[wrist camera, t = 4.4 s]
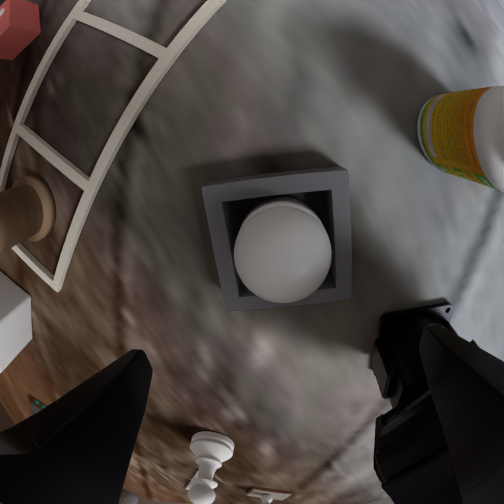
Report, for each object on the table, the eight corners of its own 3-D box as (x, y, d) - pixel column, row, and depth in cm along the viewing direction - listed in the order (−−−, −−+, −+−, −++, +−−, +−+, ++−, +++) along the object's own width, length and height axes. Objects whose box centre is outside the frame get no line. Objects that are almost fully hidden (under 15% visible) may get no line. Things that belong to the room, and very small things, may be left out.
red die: (38, 4, 12) (9, -4, 8) (40, 33, 13) (8, 25, 9) (11, 31, 13) (-18, 26, 9) (13, 60, 14) (-19, 57, 10)
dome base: (340, 166, 16) (347, 169, 14) (345, 284, 19) (351, 300, 17) (209, 181, 17) (200, 187, 16) (230, 295, 20) (226, 311, 18)
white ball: (320, 192, 17) (337, 214, 12) (326, 271, 19) (339, 317, 14) (234, 201, 17) (216, 227, 13) (247, 279, 19) (236, 326, 14)
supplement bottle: (418, 174, 16) (520, 217, 7) (409, 92, 14) (510, 71, 5) (478, 172, 15) (577, 209, 6) (470, 97, 13) (572, 95, 4)
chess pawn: (184, 431, 28) (165, 495, 20) (222, 428, 27) (208, 498, 19) (205, 451, 30) (192, 510, 21) (241, 448, 29) (232, 512, 20)
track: (160, -79, 9) (157, -83, 8) (277, -46, 11) (277, -50, 10) (-7, 221, 20) (-11, 223, 20) (61, 289, 22) (57, 292, 21)
